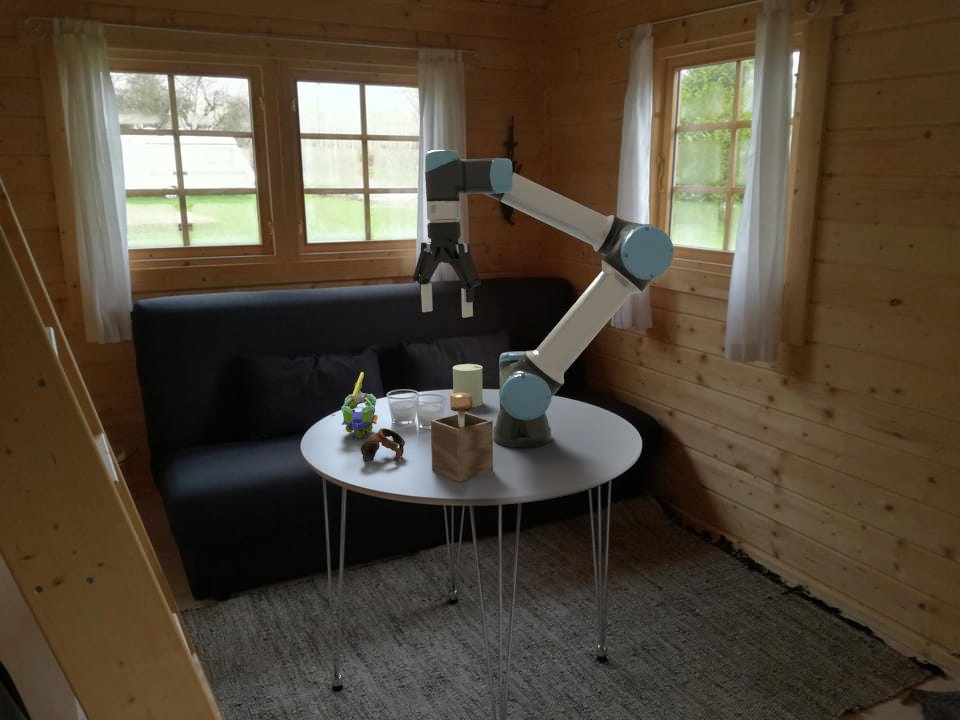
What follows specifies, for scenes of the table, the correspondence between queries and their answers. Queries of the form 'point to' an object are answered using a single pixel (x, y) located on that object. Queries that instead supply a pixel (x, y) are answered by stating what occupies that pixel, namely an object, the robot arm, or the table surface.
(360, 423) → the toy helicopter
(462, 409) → the plunger
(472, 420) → the box
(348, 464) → the table surface
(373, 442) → the brown arched band part
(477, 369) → the can
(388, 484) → the table surface
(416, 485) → the table surface
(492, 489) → the table surface
